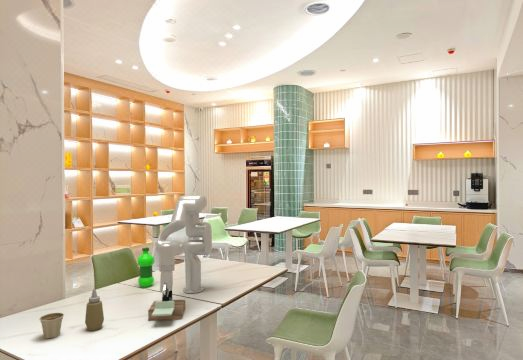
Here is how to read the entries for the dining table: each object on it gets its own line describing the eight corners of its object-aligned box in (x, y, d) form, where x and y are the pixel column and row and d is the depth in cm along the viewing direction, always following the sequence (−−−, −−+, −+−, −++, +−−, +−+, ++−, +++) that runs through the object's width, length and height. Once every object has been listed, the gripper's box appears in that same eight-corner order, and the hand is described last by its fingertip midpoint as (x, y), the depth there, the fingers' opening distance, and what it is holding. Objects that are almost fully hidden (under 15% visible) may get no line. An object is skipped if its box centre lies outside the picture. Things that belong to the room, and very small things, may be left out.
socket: (154, 310, 186) (154, 300, 186) (185, 308, 187) (185, 299, 187) (148, 320, 172) (148, 310, 172) (181, 319, 173) (181, 308, 173)
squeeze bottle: (83, 333, 159) (82, 293, 159) (87, 326, 166) (86, 287, 167) (102, 330, 161) (102, 291, 161) (105, 323, 169) (105, 286, 169)
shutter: (155, 309, 173) (155, 301, 173) (174, 308, 173) (174, 300, 173) (151, 316, 164) (151, 308, 164) (171, 315, 164) (171, 307, 164)
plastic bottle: (156, 284, 235) (156, 246, 235) (150, 288, 224) (149, 249, 225) (142, 283, 236) (141, 246, 236) (135, 288, 225) (134, 249, 226)
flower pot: (68, 331, 161) (68, 312, 161) (57, 340, 152) (56, 320, 152) (47, 331, 161) (47, 312, 161) (34, 340, 151) (34, 320, 151)
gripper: (162, 264, 188) (163, 296, 188) (155, 272, 171) (156, 307, 170) (176, 263, 188) (177, 295, 188) (171, 271, 171) (172, 306, 171)
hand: (167, 301), depth 179 cm, fingers open, 9 cm apart
